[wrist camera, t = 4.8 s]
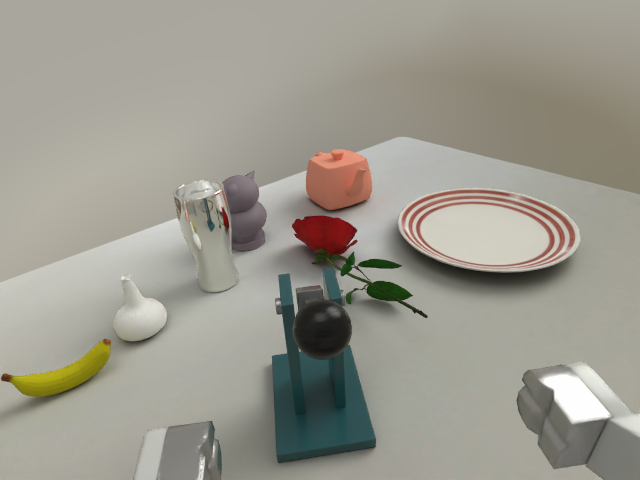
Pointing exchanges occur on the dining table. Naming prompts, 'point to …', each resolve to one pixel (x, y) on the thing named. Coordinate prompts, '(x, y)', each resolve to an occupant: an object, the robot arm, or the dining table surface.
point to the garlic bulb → (138, 314)
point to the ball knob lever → (320, 325)
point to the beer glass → (208, 232)
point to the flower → (332, 241)
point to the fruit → (62, 374)
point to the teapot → (338, 179)
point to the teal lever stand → (316, 392)
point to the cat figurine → (245, 212)
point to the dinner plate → (489, 230)
